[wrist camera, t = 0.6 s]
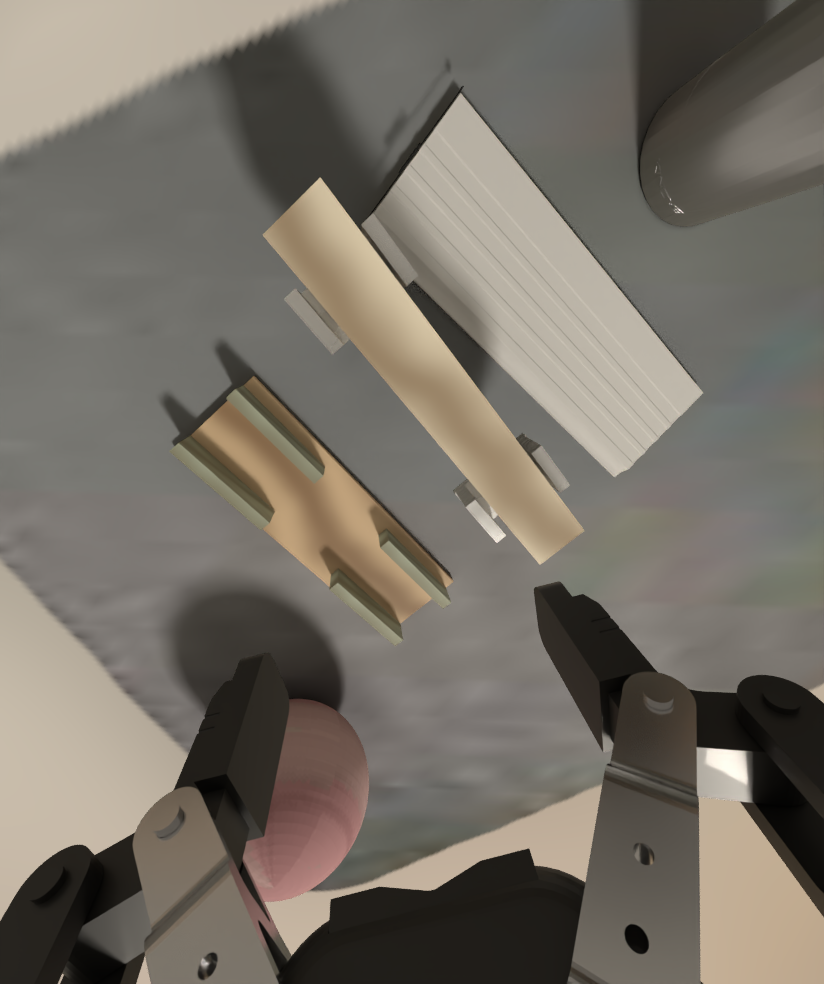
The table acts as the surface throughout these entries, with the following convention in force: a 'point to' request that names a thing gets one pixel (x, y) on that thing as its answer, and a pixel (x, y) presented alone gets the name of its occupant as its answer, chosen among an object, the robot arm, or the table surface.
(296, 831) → the eyeball
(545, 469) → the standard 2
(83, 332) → the table surface
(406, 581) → the rack
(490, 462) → the rail
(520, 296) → the baseboard
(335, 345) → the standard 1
